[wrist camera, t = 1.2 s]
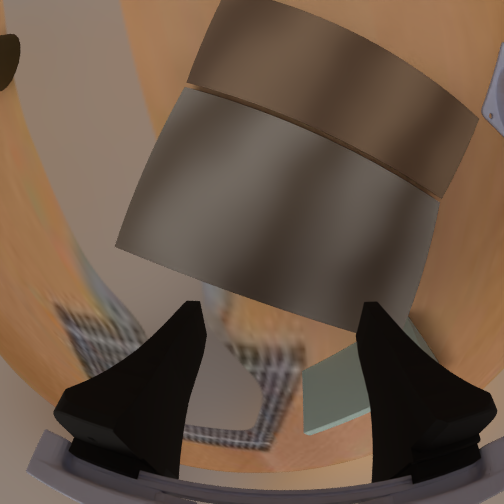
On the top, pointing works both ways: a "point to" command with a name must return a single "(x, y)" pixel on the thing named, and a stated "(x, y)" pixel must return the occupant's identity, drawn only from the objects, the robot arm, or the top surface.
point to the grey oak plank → (278, 214)
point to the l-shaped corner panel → (341, 387)
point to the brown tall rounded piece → (8, 58)
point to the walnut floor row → (336, 87)
